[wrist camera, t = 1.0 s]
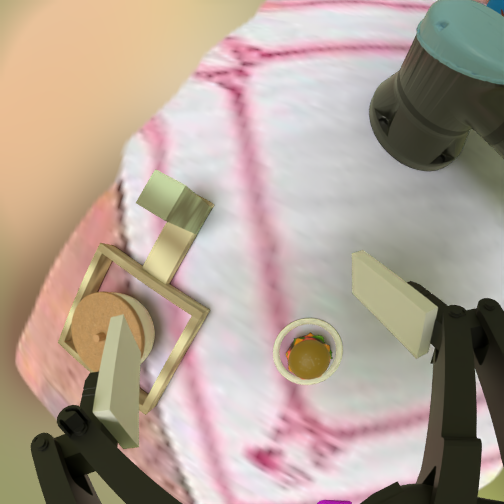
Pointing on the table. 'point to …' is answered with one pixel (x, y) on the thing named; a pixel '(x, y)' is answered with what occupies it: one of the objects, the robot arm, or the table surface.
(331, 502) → the cloth
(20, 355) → the table surface
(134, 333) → the lidded jar
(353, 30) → the table surface
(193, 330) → the pull frame
